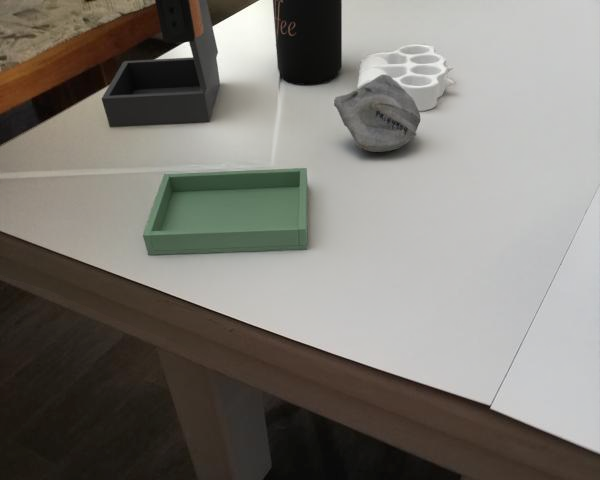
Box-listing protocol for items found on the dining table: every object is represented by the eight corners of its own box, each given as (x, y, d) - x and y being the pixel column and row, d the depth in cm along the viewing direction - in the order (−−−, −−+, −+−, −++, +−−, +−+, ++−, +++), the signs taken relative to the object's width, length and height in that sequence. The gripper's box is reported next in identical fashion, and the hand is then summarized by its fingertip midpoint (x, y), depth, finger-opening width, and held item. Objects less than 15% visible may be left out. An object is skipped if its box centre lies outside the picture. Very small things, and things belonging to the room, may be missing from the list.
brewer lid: (167, -46, 71) (210, -54, 70) (185, -72, 81) (223, -79, 80) (201, 90, 82) (238, 84, 82) (213, 53, 92) (246, 48, 91)
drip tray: (148, 255, 65) (142, 235, 63) (168, 192, 74) (163, 173, 72) (306, 249, 64) (305, 229, 62) (307, 186, 73) (306, 167, 71)
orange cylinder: (160, 41, 60) (147, -23, 56) (166, 28, 63) (154, -34, 59) (201, 39, 60) (190, -26, 56) (205, 26, 62) (196, -37, 58)
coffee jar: (275, 65, 102) (265, -65, 88) (336, 59, 102) (336, -72, 89) (281, 89, 95) (271, -49, 81) (346, 82, 95) (347, -56, 82)
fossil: (337, 163, 77) (337, 99, 71) (332, 133, 83) (331, 71, 77) (422, 156, 77) (429, 92, 71) (410, 127, 83) (415, 65, 77)
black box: (111, 133, 87) (101, 98, 83) (131, 93, 97) (123, 60, 93) (210, 128, 86) (204, 93, 82) (220, 89, 96) (216, 55, 92)
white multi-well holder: (361, 67, 99) (449, 66, 97) (355, 112, 87) (456, 111, 85) (361, 45, 97) (452, 43, 95) (356, 88, 85) (459, 87, 83)
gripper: (113, -222, 53) (160, 11, 67) (63, -214, 42) (132, 65, 56) (195, -229, 53) (225, 7, 67) (167, -222, 42) (210, 60, 55)
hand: (182, 31), depth 61 cm, fingers closed on orange cylinder, 4 cm apart
